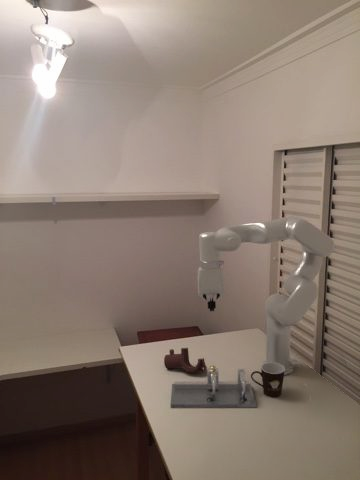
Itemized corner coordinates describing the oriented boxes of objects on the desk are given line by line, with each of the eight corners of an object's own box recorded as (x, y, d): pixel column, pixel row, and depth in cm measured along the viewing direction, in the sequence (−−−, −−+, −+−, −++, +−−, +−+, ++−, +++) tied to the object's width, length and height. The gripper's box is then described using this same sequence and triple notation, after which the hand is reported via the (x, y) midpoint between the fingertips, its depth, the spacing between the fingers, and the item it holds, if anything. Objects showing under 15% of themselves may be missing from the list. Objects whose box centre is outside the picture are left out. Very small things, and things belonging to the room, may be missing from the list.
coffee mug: (286, 389, 159) (287, 364, 157) (281, 401, 151) (282, 375, 149) (255, 383, 164) (256, 359, 162) (249, 394, 156) (250, 369, 154)
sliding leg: (217, 383, 161) (217, 364, 159) (219, 399, 150) (219, 378, 149) (207, 383, 161) (207, 364, 159) (208, 399, 150) (208, 378, 149)
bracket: (204, 372, 167) (201, 346, 170) (164, 374, 173) (163, 349, 176) (208, 370, 173) (206, 345, 176) (170, 373, 179) (168, 348, 181)
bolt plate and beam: (250, 386, 162) (250, 366, 160) (256, 407, 148) (256, 385, 146) (172, 386, 162) (171, 366, 161) (170, 407, 149) (170, 386, 147)
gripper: (228, 261, 165) (229, 305, 168) (190, 263, 165) (192, 307, 168) (230, 266, 157) (232, 312, 161) (190, 268, 157) (193, 314, 161)
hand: (211, 310), depth 165 cm, fingers closed
